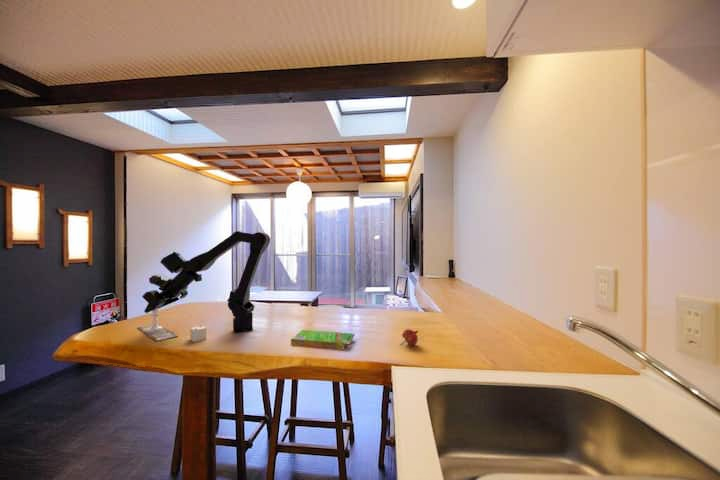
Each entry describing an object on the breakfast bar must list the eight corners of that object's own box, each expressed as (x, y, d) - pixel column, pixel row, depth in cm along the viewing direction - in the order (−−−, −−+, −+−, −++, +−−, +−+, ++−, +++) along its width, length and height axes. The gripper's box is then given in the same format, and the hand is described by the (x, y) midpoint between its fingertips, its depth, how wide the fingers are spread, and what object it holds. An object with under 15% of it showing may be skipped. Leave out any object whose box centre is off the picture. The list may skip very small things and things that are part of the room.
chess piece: (165, 328, 103) (166, 303, 103) (152, 332, 98) (152, 306, 98) (156, 327, 104) (157, 302, 104) (143, 331, 100) (143, 304, 100)
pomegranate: (405, 354, 87) (424, 340, 86) (394, 339, 88) (413, 326, 87) (405, 349, 92) (422, 336, 92) (395, 335, 93) (412, 323, 93)
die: (202, 336, 96) (202, 325, 96) (206, 339, 93) (206, 327, 94) (190, 339, 93) (190, 327, 93) (193, 342, 91) (193, 330, 91)
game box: (302, 337, 99) (355, 339, 95) (290, 347, 90) (349, 350, 85) (302, 329, 99) (355, 330, 95) (290, 338, 90) (348, 341, 85)
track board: (177, 336, 95) (177, 335, 95) (156, 341, 90) (156, 341, 90) (157, 324, 109) (157, 323, 109) (137, 328, 104) (137, 327, 104)
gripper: (180, 264, 111) (152, 291, 110) (148, 269, 93) (114, 301, 92) (199, 283, 112) (172, 309, 111) (171, 291, 93) (138, 323, 92)
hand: (150, 310), depth 101 cm, fingers open, 5 cm apart
